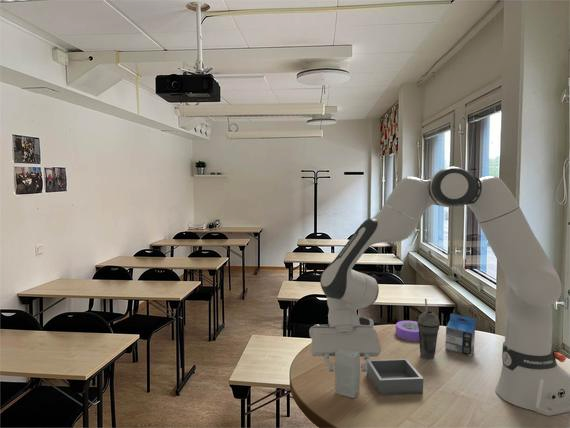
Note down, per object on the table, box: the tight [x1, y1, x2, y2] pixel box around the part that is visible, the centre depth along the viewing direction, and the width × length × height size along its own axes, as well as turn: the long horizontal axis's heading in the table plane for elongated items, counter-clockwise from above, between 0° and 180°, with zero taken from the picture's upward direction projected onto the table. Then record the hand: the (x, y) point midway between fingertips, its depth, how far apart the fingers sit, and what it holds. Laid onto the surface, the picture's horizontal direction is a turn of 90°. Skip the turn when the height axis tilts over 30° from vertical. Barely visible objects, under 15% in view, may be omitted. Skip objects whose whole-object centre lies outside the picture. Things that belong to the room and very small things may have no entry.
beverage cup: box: [416, 298, 441, 360], centre depth 138 cm, size 7×7×20 cm
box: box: [366, 358, 425, 397], centre depth 120 cm, size 13×13×4 cm
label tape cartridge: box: [445, 313, 476, 357], centre depth 142 cm, size 9×4×12 cm, turn 49°
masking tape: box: [395, 320, 419, 342], centre depth 158 cm, size 12×12×4 cm
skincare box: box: [334, 349, 361, 399], centre depth 115 cm, size 6×4×12 cm
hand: (347, 371), depth 114 cm, fingers open, 8 cm apart
